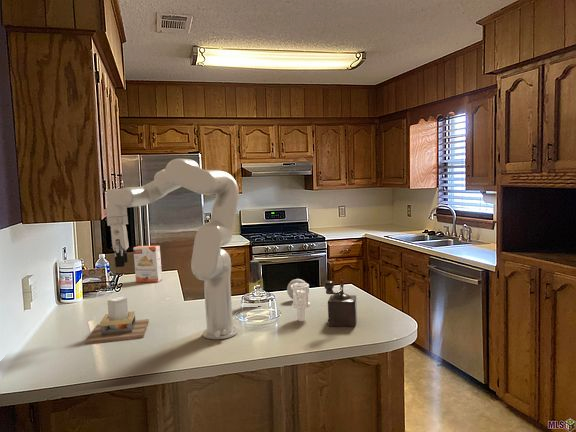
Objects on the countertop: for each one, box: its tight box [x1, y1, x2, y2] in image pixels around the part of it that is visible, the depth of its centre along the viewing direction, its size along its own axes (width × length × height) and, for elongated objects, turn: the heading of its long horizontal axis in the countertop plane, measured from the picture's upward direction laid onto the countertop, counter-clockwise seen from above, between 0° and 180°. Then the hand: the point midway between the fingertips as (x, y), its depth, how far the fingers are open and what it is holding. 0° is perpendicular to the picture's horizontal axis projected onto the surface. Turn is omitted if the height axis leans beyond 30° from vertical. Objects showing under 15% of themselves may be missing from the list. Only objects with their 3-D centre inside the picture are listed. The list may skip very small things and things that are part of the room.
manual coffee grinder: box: [323, 279, 358, 328], centre depth 175 cm, size 16×11×18 cm
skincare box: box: [107, 296, 129, 329], centre depth 180 cm, size 6×4×12 cm
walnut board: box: [85, 318, 150, 345], centre depth 181 cm, size 20×20×1 cm
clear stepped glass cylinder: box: [291, 282, 311, 322], centre depth 184 cm, size 7×7×15 cm
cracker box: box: [132, 245, 163, 283], centre depth 273 cm, size 14×6×21 cm, turn 80°
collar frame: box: [99, 311, 137, 335], centre depth 181 cm, size 11×11×5 cm
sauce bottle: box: [248, 259, 264, 294], centre depth 209 cm, size 6×6×20 cm
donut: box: [286, 278, 310, 300], centre depth 213 cm, size 10×4×10 cm, turn 86°
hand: (121, 264), depth 182 cm, fingers open, 9 cm apart
